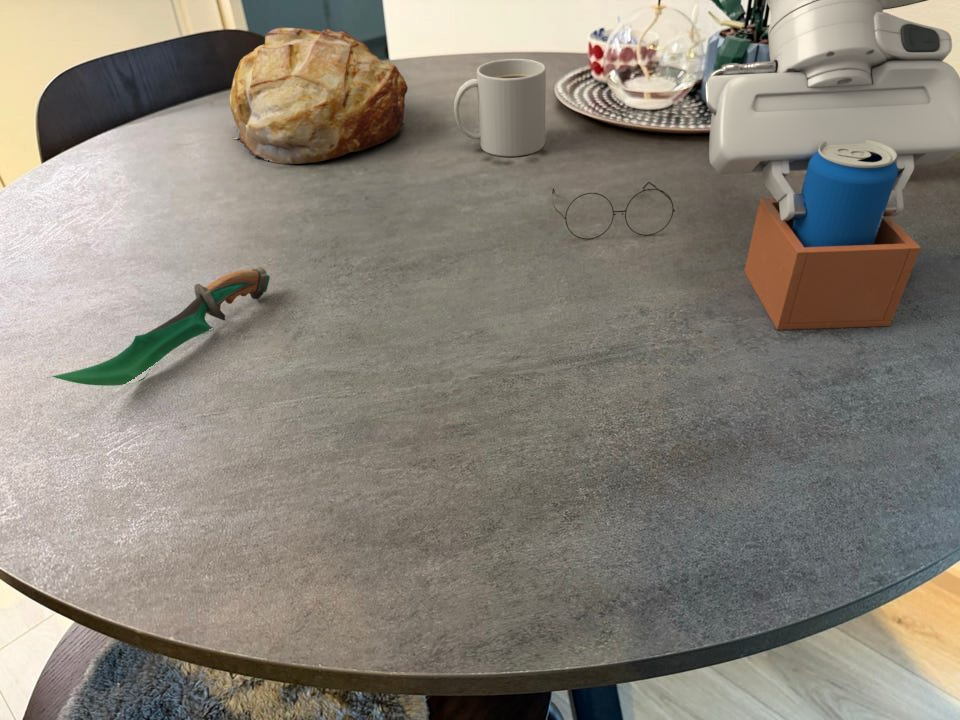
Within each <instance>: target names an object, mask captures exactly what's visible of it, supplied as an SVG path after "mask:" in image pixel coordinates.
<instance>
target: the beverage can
mask: <svg viewBox="0 0 960 720" xmlns="http://www.w3.org/2000/svg"><path fill="white" fill-rule="evenodd" d="M864 140H865V142H866V144H841V145H828V146H826V142H827V141H824V142H822V143H821V144H820V145H819V148H818V152H817V153H816V154H815V155H813V156H812V158H811V159H810V161H809V164H808V168H807V170H806V172H805V175H804V180H803V184H802V188H801V192H800V194H805V204H804V205H805V206H806V215H805V216H804V217H803V218H801V219H800V220H794V223H793V227H792V231H793V233H794V234H795V235H796V237H797V238H798V239H799V241H800V242H801V244H802V245H803V246H804V248H805V247H827V246H853V245H874V242H875V239H876V236H877V233H878V230H879V227H880V224H881V221H882V218H883V215H884V212H885V209H886V206H887V203H888V200H889V198H890V195H891V192H892V189H893V186H894V183H895V180H896V177H897V174H898V169H897V165H896V163H895V160H896V158H897V153H896V152H895V151H894V150H893V149H892V148H891V147H889V146H887V145H885V144H882V143H879V142H876V141H872V140H867V139H864ZM825 146H826V147H825ZM867 151H868V152H867ZM869 152H873V153H876V154H877V155H875V156H871V154H870V153H869Z"/></svg>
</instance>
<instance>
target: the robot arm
mask: <svg viewBox="0 0 960 720" xmlns="http://www.w3.org/2000/svg"><path fill="white" fill-rule="evenodd" d="M765 2H766V4H767V6H768V8H769V10H770V22H769V27H768V32H767V41H768V51H769V52H768V54H769V61H755V62H754V61H753V62H748V63H738V62H731V63H725V64H722V65H721V67H720V68H719V69H715V70H714V71H713V72H711V73H710V74H709V75H708V77H707V79H706V80H705V83H704V93H705V94H704V95H705V103H706V104H705V105H706V107H707V109H708V110H709V112H710V113H711V118H710V124H709V125H710V127H709V141H708V142H709V143H708V146H709V147H708V148H709V149H708V157H709V158H708V159H709V164H710V166H711V167H712V168H713V169H714V170H715V171H716V172H717V173H718V174H720V175H732V174H734V175H735V174H753V173H754V174H757V173H762V178H763V179H762V180H763V185H764V186H765V188H766V189H767V190H768V191H769V193H770V194H771V195H772V197H773V199H776V201H777V202H779V208H780V218H781V220H782V221H792V220H800V219H801V218H803V217H804V216H805V215H806V206H805V205H804V204H805V194H801V193H796V192H795V191H794V190H793V188H792V187H791V185H790V183H789V182H788V181H787V179H786V177H787V176H788V175H789V174H790V172H797V171H800V172H801V171H807V168H808V164H809V161H810V159H811V158H812V156H813V155H815V154H816V153H817V152H818V148H819V145H820V144H821V143H822V142H824V141H827V142H826V146H828V145H841V144H866V142H865V140H864V139H867V140H872V141H876V142H879V143H882V144H885V145H887V146H889V147H891V148H892V149H893V150H894V151H895V152H896V153H897V158H896V160H895V163H896V165H897V169H898V174H897V177H896V180H895V183H894V186H893V189H892V192H891V195H890V198H889V200H888V203H887V206H886V209H885V212H884V215H883V216H890V217H895V216H897V215H900V214H901V213H902V212H903V210H904V196H903V195H904V194H903V190H904V189H905V188H906V186H907V184H908V182H909V181H910V178H911V176H912V173H913V172H914V170H915V166H932V165H940V164H943V163H944V162H945V161H947V160H949V159H951V158H952V157H953V156H955V155H956V154H958V153H959V152H960V74H958V72H957V70H956V69H955V68H954V67H953V66H952V65H951V64H949V63H948V62H945V59H946V58H947V57H948V56H949V54H950V53H951V52H952V49H953V40H952V36H951V34H950V33H949V32H948V31H947V30H944V29H943V28H938V27H933V26H929V25H925V24H921V23H918V22H914V21H910V20H908V19H904V18H901V17H898V16H896V15H893V14H891V13H888V12H884V10H892V9H897V8H902V7H907V6H910V5H911V6H912V5H916V4H920V3H923V2H928V0H765ZM826 146H825V147H826ZM867 152H868V151H867ZM869 153H870V154H871V156H875V155H877V154H876V153H873V152H869Z"/></svg>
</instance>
